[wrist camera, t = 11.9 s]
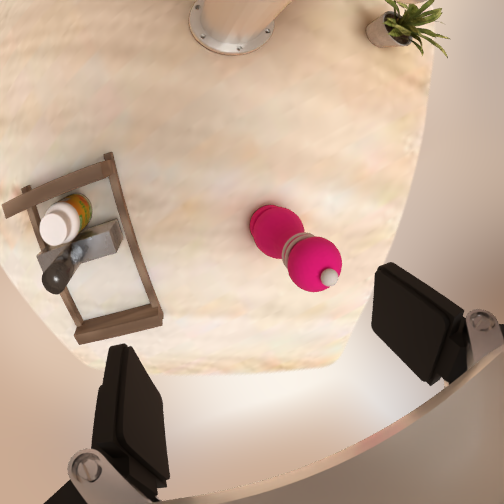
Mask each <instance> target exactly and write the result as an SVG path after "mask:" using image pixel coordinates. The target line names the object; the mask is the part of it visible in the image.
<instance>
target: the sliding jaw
mask: <svg viewBox="0 0 504 504" xmlns="http://www.w3.org/2000/svg"><path fill="white" fill-rule="evenodd" d="M122 240H123V236H122V232H121V229H120V226H119V223H118V220H117V219H116V220H112V221H109V222H106V223H103V224H100V225H97V226H94V227H91V228H88V229H85V230H82V231H81V232H80V233H79V234H78V235H77V236H76V237H75V238H74V239H73V240H71V241H70V242H68V243H64V244H60V245H57V246H52V245H49V244H48V245H47V246H46V247H45V248H44V249H43V250H42V251H41V252H40V253H39V254H38V255H37V259H38V261H39V264H40V266H41V268H42V271H43V275H42V283H43V285H44V287H45V288H46V290H47V291H49V292H50V293H52V294H60V293H61V292H63V290H64V289H65V287H66V285H67V284H68V282H69V281H70V279H71V277H72V276H73V274H74V273H75V271H76V270H77V268H78V267H79V265H80V264H81V263H84V262H87V261H91V260H94V259H97V258H100V257H104V256H107V255H110V254H114V253H116V252H117V250H118V248H119V246H120V244H121V242H122Z"/></svg>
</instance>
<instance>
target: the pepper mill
mask: <svg viewBox="0 0 504 504" xmlns="http://www.w3.org/2000/svg"><path fill="white" fill-rule="evenodd" d="M250 231H251V234H252V236H253V237H254V241H255V243H256V245H257V247H258V248H259V249H260V250H261V251H262V252H263V253H264V254H266V255H267V256H270V257H273V258H276V259H282V260H283V263H284V265H285V266H286V268H287V269H288V272H289V276H290V278H291V279H292V281H293V282H294V283H295V284H296V285H297V286H298V287H300V288H301V289H303V290H305V291H309V292H319V291H323V290H325V289H327V288H329V287H330V286H333V285H335V284H336V283H337V281H338V277H339V275H340V272H341V268H342V259H341V255H340V253H339V251H338V249H337V248H336V246H335V245H334V244H333V243H332V242H330V241H329V240H327V239H325V238H322V237H315V236H314V235H312V234H310V233H305V232H304V227H303V224H302V222H301V220H300V218H299V217H298V216H297V215H296V214H295V213H294V212H292V211H291V210H289V209H286V208H282V207H278V206H275V205H266V206H263V207H261V208H259V209H258V210H257V211H256V212H255V213H254V214H253V216H252V218H251V221H250Z"/></svg>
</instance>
